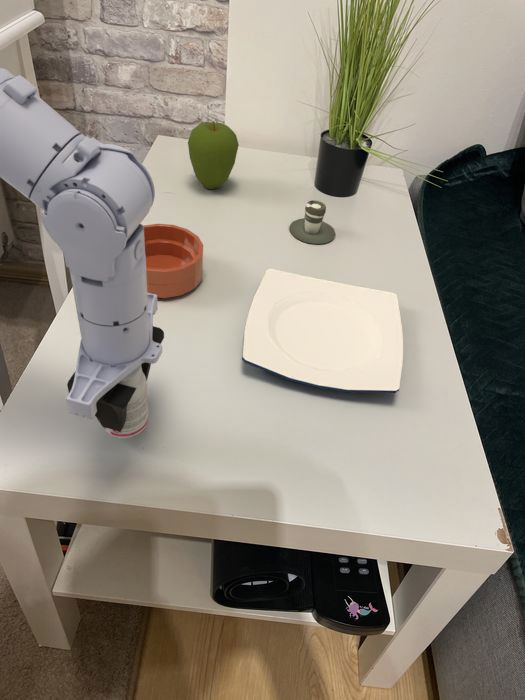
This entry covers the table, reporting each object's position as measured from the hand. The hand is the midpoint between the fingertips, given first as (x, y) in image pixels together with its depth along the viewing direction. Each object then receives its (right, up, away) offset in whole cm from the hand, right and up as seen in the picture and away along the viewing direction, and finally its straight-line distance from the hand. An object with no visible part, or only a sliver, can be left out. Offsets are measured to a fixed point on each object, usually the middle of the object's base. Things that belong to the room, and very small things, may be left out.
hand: (123, 406), depth 53 cm
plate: (+22, +7, +17) cm, 28 cm away
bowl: (0, +16, +22) cm, 27 cm away
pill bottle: (0, -2, +2) cm, 3 cm away
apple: (+5, +35, +42) cm, 55 cm away
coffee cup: (+22, +25, +35) cm, 49 cm away
